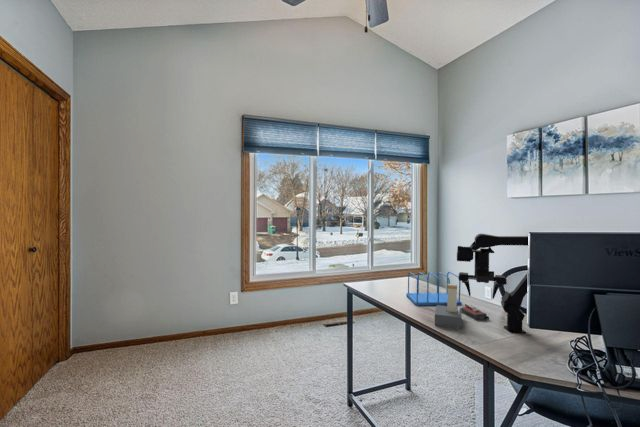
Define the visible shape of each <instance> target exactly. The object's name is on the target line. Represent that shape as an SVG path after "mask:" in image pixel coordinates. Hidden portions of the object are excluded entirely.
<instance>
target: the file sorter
mask: <svg viewBox="0 0 640 427" xmlns="http://www.w3.org/2000/svg"><path fill="white" fill-rule="evenodd" d="M420 274H421V275H422V276H423V277H425V278H426V282H427V283H426V285H427V286H426V292H420V291H419V289H420V283H419V282H420ZM430 274H431V275H432V276H434V277H436V292H429V282H430V280H429V279H430V276H429V275H430ZM439 274H440V275H443V276H444V277H446V286H447V285H448V284H451V280H450V277H449V274H451V275H453V276H455V277H456V278H457V279H459V275H457V274H455V273H453V272H451V271H447V273H446V274H444V273H443V272H440V271H438V272H437V274H434V273H433V272H431V271H428V273H427V275H425V274H424V273H422V272H421V271H418V273H417V275H415V274H414V273H413V272H411V271H409V272H408V276H407V278H408V279H407V293H406V297H407V298H408V299H409V300H410V302H412V303H413V304H414V305H415V306H437V305H441V306H447V292H440V279H439ZM410 275H412V276H413V277H414V278H416V292H410ZM458 283H459V284H458V285H459V286H458V298H457V306H462V304H463V302H462V301H461V283H462V281H459V280H458Z"/></svg>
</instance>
